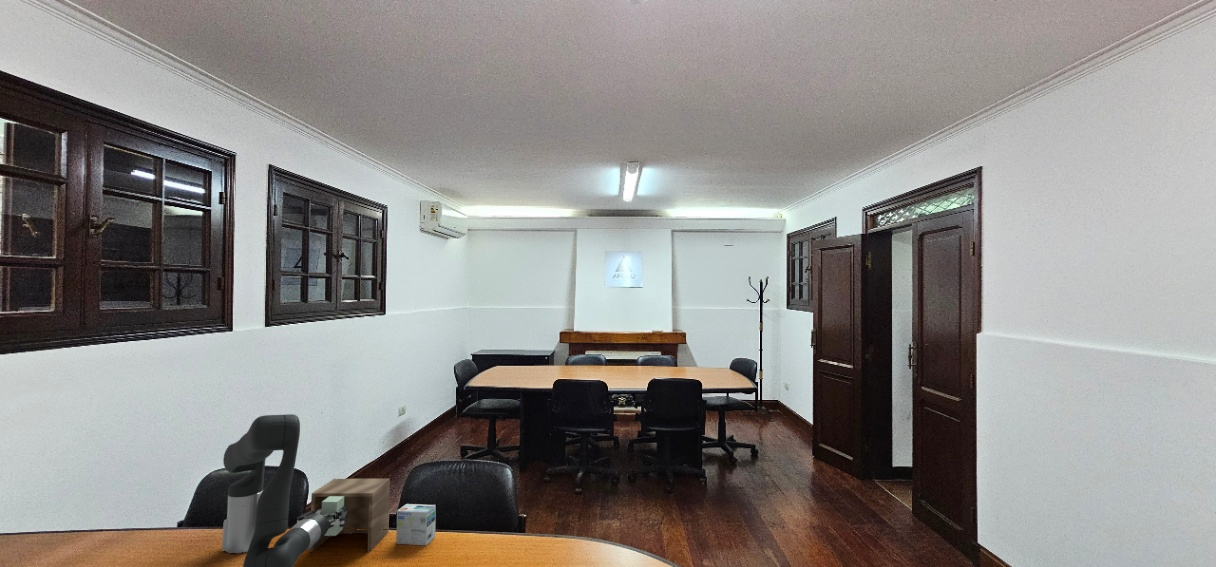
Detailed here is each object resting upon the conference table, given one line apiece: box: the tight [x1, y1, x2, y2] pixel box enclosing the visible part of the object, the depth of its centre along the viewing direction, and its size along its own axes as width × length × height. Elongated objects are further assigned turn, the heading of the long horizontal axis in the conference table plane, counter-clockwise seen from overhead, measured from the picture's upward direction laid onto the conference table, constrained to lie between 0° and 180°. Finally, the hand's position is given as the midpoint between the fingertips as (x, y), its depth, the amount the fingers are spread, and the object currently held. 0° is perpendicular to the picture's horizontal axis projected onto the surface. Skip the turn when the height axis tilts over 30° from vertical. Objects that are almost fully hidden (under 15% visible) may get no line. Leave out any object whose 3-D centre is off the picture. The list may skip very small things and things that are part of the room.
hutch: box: [308, 478, 391, 553], centre depth 168 cm, size 19×14×18 cm
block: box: [321, 496, 344, 537], centre depth 156 cm, size 4×4×10 cm
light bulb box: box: [395, 503, 437, 546], centre depth 169 cm, size 11×7×11 cm, turn 84°
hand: (337, 508), depth 158 cm, fingers closed on block, 4 cm apart
